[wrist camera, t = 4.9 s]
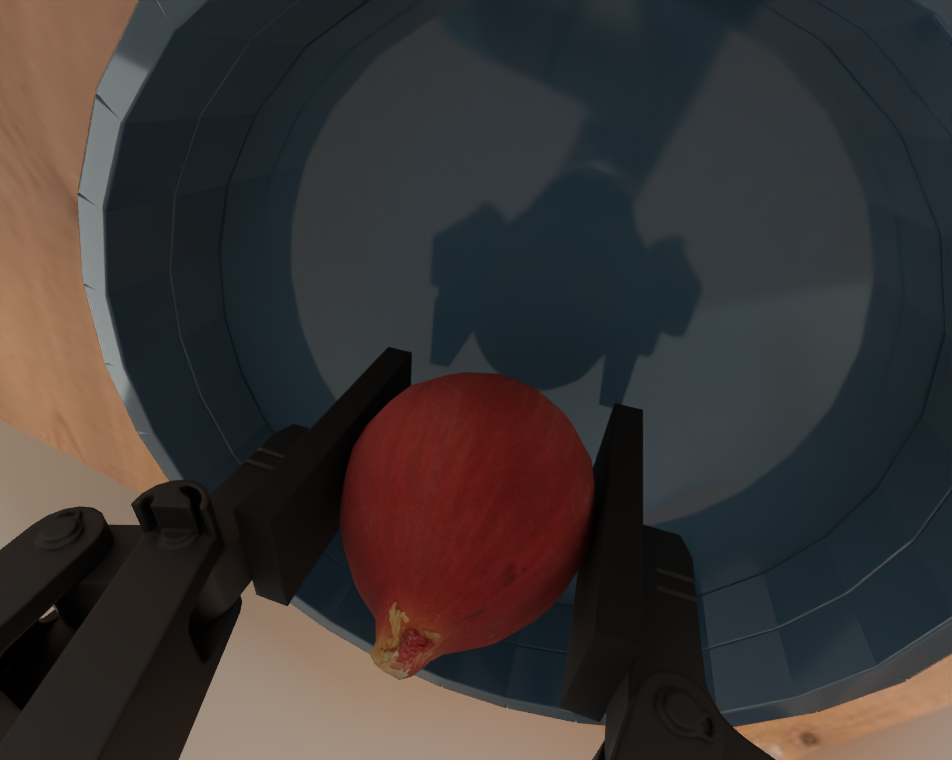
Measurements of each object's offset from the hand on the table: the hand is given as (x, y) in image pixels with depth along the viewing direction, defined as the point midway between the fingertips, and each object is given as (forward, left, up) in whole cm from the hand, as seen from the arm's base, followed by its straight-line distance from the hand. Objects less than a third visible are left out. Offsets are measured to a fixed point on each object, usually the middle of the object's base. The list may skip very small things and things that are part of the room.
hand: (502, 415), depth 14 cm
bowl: (0, 0, -2) cm, 2 cm away
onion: (0, 0, -1) cm, 1 cm away
